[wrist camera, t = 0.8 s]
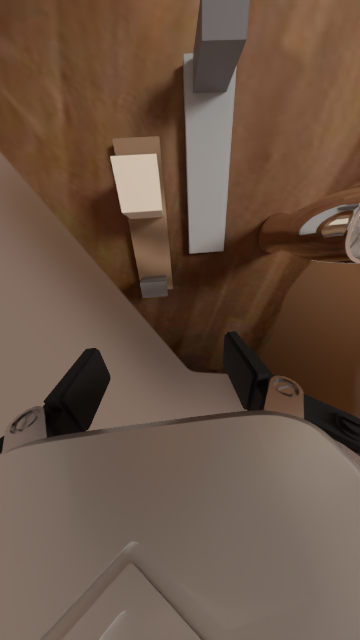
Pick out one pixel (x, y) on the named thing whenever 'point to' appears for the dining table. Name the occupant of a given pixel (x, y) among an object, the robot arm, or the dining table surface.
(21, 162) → the dining table surface
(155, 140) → the brown long piece
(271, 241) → the beer glass
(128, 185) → the cream block
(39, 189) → the dining table surface
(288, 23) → the dining table surface
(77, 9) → the dining table surface
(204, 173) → the grey strip
